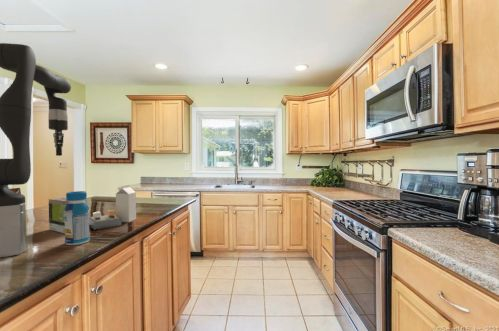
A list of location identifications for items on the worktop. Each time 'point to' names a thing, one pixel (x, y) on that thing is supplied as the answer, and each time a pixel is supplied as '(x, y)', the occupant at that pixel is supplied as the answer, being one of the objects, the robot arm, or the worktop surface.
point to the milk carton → (126, 204)
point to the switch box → (104, 221)
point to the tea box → (57, 214)
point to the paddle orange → (111, 212)
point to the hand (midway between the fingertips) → (59, 155)
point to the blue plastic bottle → (76, 218)
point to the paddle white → (97, 214)
